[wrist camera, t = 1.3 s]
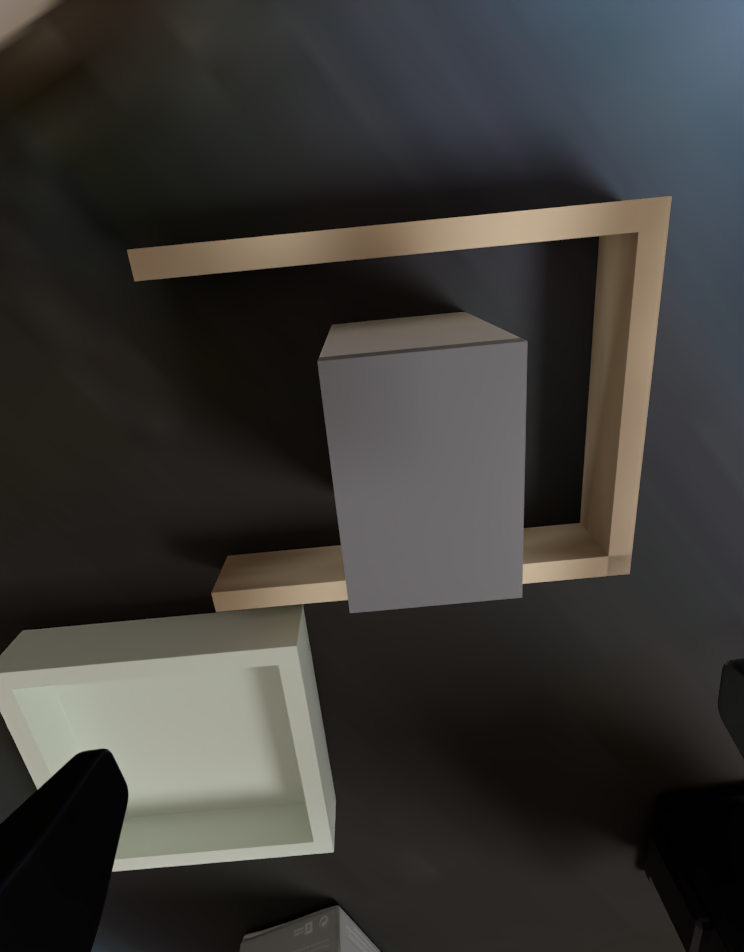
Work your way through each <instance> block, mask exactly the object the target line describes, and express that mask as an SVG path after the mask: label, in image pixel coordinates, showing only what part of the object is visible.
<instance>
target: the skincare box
mask: <svg viewBox="0 0 744 952" xmlns="http://www.w3.org/2000/svg"><path fill="white" fill-rule="evenodd" d="M239 952H381V951H380V950H379V949H378V948H377V947H376V946H375V945H374V944H373V942H372V941H371V940H370V939H369V938H368V937H367V936H366V935H365V934H364V933H363V931H362V930H361V929H360V928H359V927H358V926H357V925H356V924H355V923H354V922H353V921H352V920H351V918H350V917H349V916H348V915H347V914H346V913H345V912H344V911H343V910H342V908H341V907H340V906H338V905H336V906H332V907H329V908H325V909H322V910H320V911H317V912H314V913H312V914H309V915H306V916H304V917H301V918H299V919H296V920H293V921H291V922H288V923H284V924H281V925H277V926H274V927H271V928H268V929H265V930H261V931H258V932H254V933H250V934H247V935H245V936H244V938H243V941H242V943H241V945H240V951H239Z"/></svg>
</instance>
